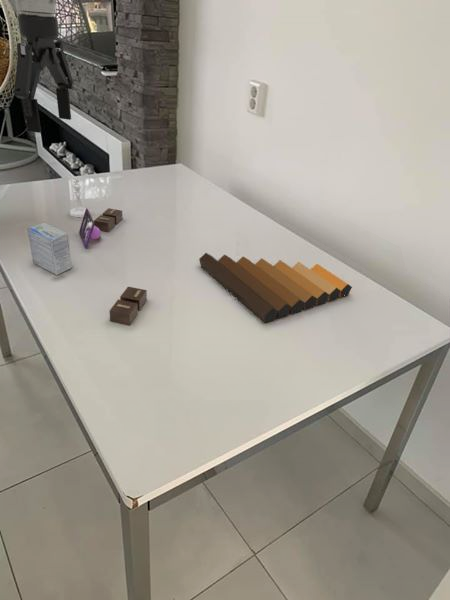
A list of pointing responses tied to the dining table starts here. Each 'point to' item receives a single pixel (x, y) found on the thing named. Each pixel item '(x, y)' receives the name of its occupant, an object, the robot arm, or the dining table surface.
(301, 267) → the pan flute
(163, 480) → the dining table surface
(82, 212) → the chess piece
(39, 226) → the medicine box
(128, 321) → the brown segmented bar
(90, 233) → the game card
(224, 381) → the dining table surface
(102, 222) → the brown block
